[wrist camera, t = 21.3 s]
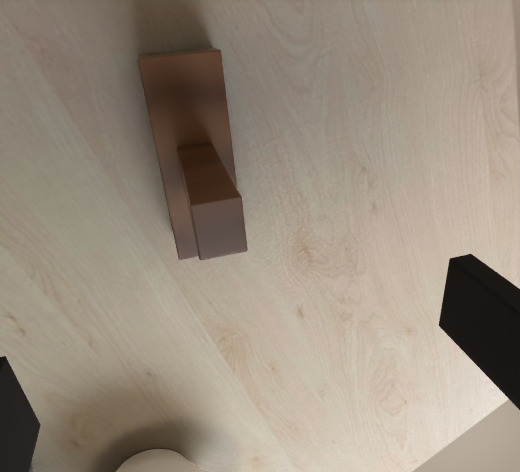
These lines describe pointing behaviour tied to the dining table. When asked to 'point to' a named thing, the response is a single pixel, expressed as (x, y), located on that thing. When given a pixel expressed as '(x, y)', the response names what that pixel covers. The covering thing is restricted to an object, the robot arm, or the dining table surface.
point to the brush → (195, 150)
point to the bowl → (158, 462)
